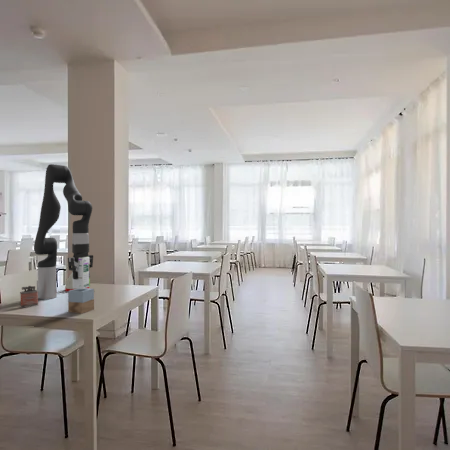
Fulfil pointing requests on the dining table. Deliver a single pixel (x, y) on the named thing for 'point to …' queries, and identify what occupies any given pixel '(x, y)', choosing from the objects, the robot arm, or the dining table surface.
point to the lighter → (29, 296)
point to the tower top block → (81, 295)
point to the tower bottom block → (81, 306)
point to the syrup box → (82, 274)
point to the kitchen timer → (69, 284)
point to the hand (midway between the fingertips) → (81, 278)
